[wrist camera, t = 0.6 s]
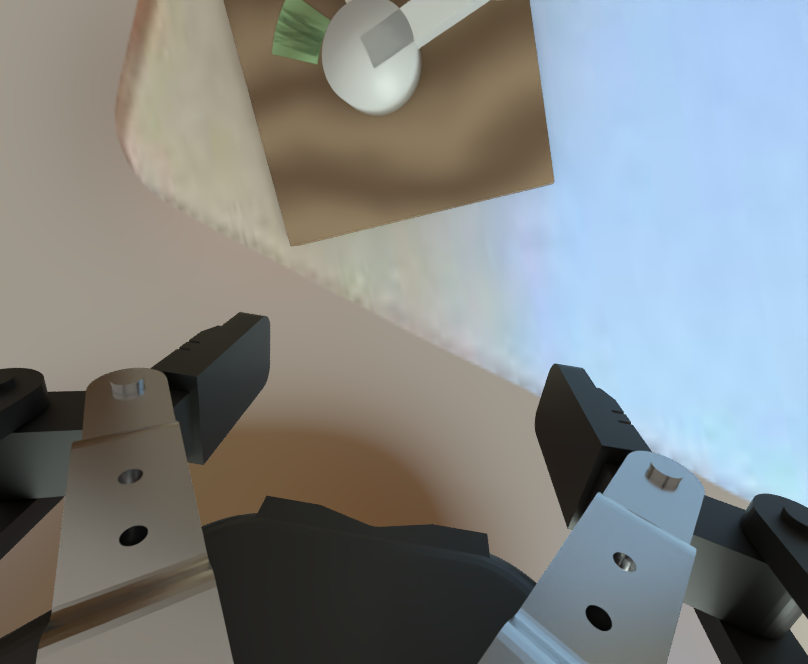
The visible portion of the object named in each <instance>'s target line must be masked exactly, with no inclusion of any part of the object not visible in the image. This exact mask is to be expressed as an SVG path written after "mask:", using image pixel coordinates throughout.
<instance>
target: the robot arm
mask: <svg viewBox="0 0 808 664" xmlns="http://www.w3.org/2000/svg"><path fill="white" fill-rule="evenodd" d="M269 369H270V321H269V319H268V317H267V316H261V315H255V314H249V313H243V312H239V313H238V314H237V315H235V316H234V317H233V318H231V319H230V320H229V321H227V322H226V323H225V324H223V325H222V326H216V327H213V328H210V329H207V330H204V331H201V332H200V333H199V334H197V335H196V336H194V337H193V338H192V339H190V340H189V342H186V343H185V344H183V345H182V346H181V347H180V348H179V349H177V350H175V351H174V352H172V353H171V354H170V355H168V356H167V357H165V358H164V359H163V360H161V361H160V362H159V363H157V364H156V365H154V366H153V367H152V368H150V369H149V368H129V369H122V370H118V371H114V372H110V373H108V374H105V375H103V376H100V377H99V378H97V379H95V380H94V381H92V382H91V383H90V384H89V386H88V387H87V389H86V391H64V392H63V391H62V392H47V388H46V384H45V380H44V376H43V375H42V373H40V372H38V371H36V370H33V369H26V368H7V369H0V560H1V558H3V557H4V556H5V554H7V553H8V552H9V551H10V550H11V549H12V548H13V547H14V546H15V545H16V544H17V543H18V542H19V541H20V540H21V539H22V538H23V537H24V536H25V535H26V534H27V533H28V532H29V531H30V530H31V529H32V528H33V527H34V526H35V525H36V524H37V523H38V522H39V521H40V520H41V519H42V518H43V517H44V516H45V515H46V514H47V513H48V512H49V511H50V510H52V509H53V507H55V506H56V505H57V504H58V503H59V502H60V501H61V500H62V499H63V497H64V496H65V503H64V512H63V520H62V528H61V537H60V545H59V554H58V562H57V571H56V579H55V588H54V597H53V606H52V610H50V611H48V612H47V613H45V614H43V615H41V616H39V617H38V618H36V619H34V620H33V621H31V622H29V623H27V624H25V625H23V626H22V627H20V628H18V629H16V630H15V631H13V632H11V633H9V634H7V635H6V636H4V637H2V638H0V664H666V663H667V660H668V656H669V652H670V649H671V645H672V641H673V637H674V634H675V630H676V626H677V622H678V618H679V615H680V611H681V608H682V604H683V603H685V604H688V605H690V606H692V607H694V609H695V612H696V614H697V616H698V618H699V620H700V622H701V624H702V626H703V628H704V630H705V632H706V634H707V636H708V638H709V640H710V642H711V644H712V646H713V648H714V650H715V652H716V654H717V656H718V658H719V660H720V662H721V664H808V655H807V654H806V652H805V651H804V649H803V648H802V647H801V645H800V644H799V642H798V641H797V640H796V638H795V636H794V635H793V633H792V632H791V630H790V628H791V627H792V625H793V624H794V623H795V622H796V621H797V619H798V618H799V617H800V616H801V615H802V613H804V615H805V616H806V617H807V619H808V508H807V507H805V506H803V505H801V504H799V503H797V502H795V501H792V500H790V499H787V498H784V497H781V496H777V495H773V494H758V495H756V496H755V497H754V498H753V500H752V501H751V503H750V505H749V506H748V508H747V509H746V510H744V509H741V508H738V507H735V506H732V505H730V504H727V503H724V502H722V501H718V500H716V499H713V498H711V497H708V496H706V495H704V494H705V491H704V487H703V485H702V483H701V482H700V481H699V479H698V478H697V477H696V476H695V475H694V474H693V473H692V472H690V471H689V470H688V469H687V468H685V467H684V466H682V465H681V464H679V463H678V462H676V461H674V460H672V459H670V458H668V457H665V456H663V455H660V454H657V453H653V452H652V451H651V450H650V448H649V447H648V446H647V444H646V443H645V441H644V440H643V439H642V437H641V436H640V434H639V433H638V431H637V430H636V429H635V427H634V426H633V425H631V422H630V420H629V419H628V417H627V416H626V415H625V414H624V412H623V410H622V409H621V407H620V406H619V405H618V403H617V402H616V400H615V399H613V398H612V397H611V396H609V395H608V394H607V393H606V392H604V391H603V390H602V389H600V388H596V386H595V385H594V383H593V382H592V380H591V379H590V377H589V376H588V374H587V373H586V371H585V370H584V369H583V368H579V367H573V366H567V365H561V364H554V365H553V366H552V367H551V369H550V371H549V374H548V377H547V380H546V383H545V386H544V389H543V392H542V396H541V399H540V402H539V405H538V408H537V412H536V417H535V432H536V436H537V439H538V442H539V445H540V447H541V450H542V453H543V456H544V459H545V462H546V465H547V468H548V471H549V474H550V477H551V480H552V483H553V486H554V489H555V492H556V495H557V498H558V501H559V504H560V507H561V510H562V513H563V516H564V519H565V522H566V525H567V528H568V529H572V532H571V533H570V535H569V536H568V538H567V539H566V541H565V542H564V544H563V545H562V547H561V548H560V550H559V551H558V553H557V554H556V556H555V557H554V559H553V560H552V562H551V563H550V565H549V566H548V568H547V569H546V571H545V572H544V574H543V575H542V577H541V578H540V580H539V581H538V583H536V582H534V581H533V580H532V579H531V578H530V577H528V576H527V575H526V574H524V573H523V572H522V571H520V570H519V569H517V568H516V567H514V566H513V565H511V564H510V563H508V562H506V561H504V560H502V559H500V558H499V557H497V556H494V555H492V554H490V553H489V545H488V538H487V534H485V533H480V532H474V531H468V530H462V529H456V528H451V527H445V526H439V525H433V524H430V525H409V526H389V527H374V526H370V525H367V524H365V523H362V522H360V521H358V520H355V519H353V518H350V517H348V516H345V515H343V514H341V513H338V512H336V511H334V510H331V509H329V508H326V507H324V506H321V505H317V504H312V503H306V502H300V501H294V500H288V499H283V498H277V497H271V496H266V498H265V500H264V502H263V504H262V506H261V508H260V510H259V512H258V513H252V514H245V515H237V516H233V517H229V518H225V519H221V520H218V521H215V522H212V523H209V524H207V525H205V526H202V527H201V523H200V518H199V514H198V509H197V504H196V500H195V495H194V491H193V486H192V481H191V476H190V472H189V467H188V462H189V463H195V464H201V465H204V463H206V461H207V460H208V459H209V457H210V456H211V455H212V453H213V452H214V451H215V450H216V448H217V447H218V446H219V444H220V443H221V442H222V441H223V439H224V438H225V437H226V435H227V434H228V433H229V431H230V430H231V429H232V428H233V426H234V425H235V424H236V422H237V421H238V420H239V419H240V417H241V416H242V415H243V413H244V412H245V411H246V410H247V408H248V407H249V406H250V404H251V403H252V402H253V400H254V399H255V398H256V397H257V395H258V394H259V393H260V391H261V390H262V389H263V387H264V386H265V384H266V381H267V379H268V375H269Z"/></svg>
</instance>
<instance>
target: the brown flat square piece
mask: <svg viewBox="0 0 808 664" xmlns="http://www.w3.org/2000/svg"><path fill="white" fill-rule="evenodd" d="M389 1H391V2H392V3H394V4H395V5H396V6H398V7H399V8H401V7H402V6H403V5H405V4H406V3H407V2H409V1H410V0H389ZM224 4H225V7H226V11H227V15H228V18H229V22H230V26H231V29H232V33H233V37H234V40H235V44H236V48H237V51H238V55H239V59H240V62H241V66H242V70H243V73H244V77H245V81H246V84H247V88H248V92H249V95H250V99H251V103H252V106H253V110H254V114H255V117H256V121H257V125H258V128H259V132H260V136H261V139H262V143H263V147H264V150H265V154H266V158H267V162H268V165H269V169H270V173H271V176H272V180H273V184H274V187H275V191H276V195H277V198H278V202H279V206H280V209H281V213H282V217H283V220H284V224H285V228H286V231H287V235H288V239H289V242H290V246H299V245H303V244H307V243H311V242H316V241H320V240H324V239H328V238H332V237H336V236H340V235H344V234H349V233H353V232H357V231H361V230H365V229H369V228H373V227H377V226H381V225H386V224H390V223H394V222H398V221H402V220H406V219H410V218H414V217H419V216H423V215H427V214H431V213H435V212H439V211H443V210H447V209H452V208H456V207H460V206H464V205H468V204H472V203H476V202H480V201H485V200H489V199H493V198H497V197H501V196H505V195H509V194H513V193H518V192H522V191H526V190H530V189H534V188H538V187H542V186H546V185H551V184H553V183H554V175H553V168H552V160H551V153H550V146H549V139H548V131H547V124H546V117H545V110H544V102H543V95H542V88H541V80H540V73H539V66H538V59H537V51H536V44H535V37H534V30H533V22H532V15H531V8H530V0H490V1H488V2H487V3H485V4H484V5H483V6H481V7H480V8H478V9H477V10H475V11H474V12H472V13H471V14H469V15H468V16H466V17H465V18H463V19H462V20H460V21H459V22H457V23H456V24H455V25H453V26H452V27H450V28H449V29H447V30H446V31H444V32H443V33H441V34H440V35H438V36H437V37H435V38H434V39H432V40H431V41H430V42H428V43H427V44H425V45H424V46H422V47H421V48H420V50H421V56H422V69H421V75H420V79H419V82H418V85H417V87H416V90H415V91H414V93H413V95H412V96H411V98H410V99H409V100H408V101H407V102H406V103H405V104H404V105H403V106H402V107H401V108H399V109H398V110H396V111H394V112H392V113H390V114H387V115H383V116H371V115H366V114H364V113H361V112H360V111H358V110H356V109H355V108H354V107H352V106H351V105H350V104H348V103H347V102H346V101H344V100H343V99H342V98H340V97H339V96H338V95H337V94H336V93H335V92H334V90H333V89H332V88H331V86H330V84H329V83H328V81H327V78H326V76H325V73H324V69H323V64H322V45H323V40H324V36H325V33H326V30H327V27H328V25H329V23H330V21H331V20H332V18H333V17H334V15H335V14H336V13H337V12H338V11H339V10H340V9H341V8H342V7H343V6H344V5H345V4H346V2H345V0H224Z"/></svg>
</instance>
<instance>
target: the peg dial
mask: <svg viewBox="0 0 808 664" xmlns="http://www.w3.org/2000/svg"><path fill="white" fill-rule="evenodd" d="M488 1H490V0H410V1H409V2H407V3H406V4H405V5H403V6H402V7H401V8H399V7H398V6H396V5H395V4H394V3H392V2H391V1H389V0H345V2H346V4H345V5H344V6H343V7H342V8H341V9H340V10H339V11H338V12H337V13H336V14H335V15H334V17H333V18H332V20H331V21H330V23H329V25H328V27H327V30H326V33H325V36H324V40H323V45H322V64H323V69H324V73H325V76H326V78H327V81H328V83H329V84H330V86H331V88H332V89H333V90H334V92H335V93H336V94H337V95H338V96H339V97H340V98H342V99H343V100H344V101H346V102H347V103H348V104H350V105H351V106H352V107H354V108H355V109H356V110H358V111H360V112H361V113H364V114H366V115H371V116H383V115H387V114H390V113H392V112H394V111H396V110H398V109H399V108H401V107H402V106H403V105H404V104H405V103H406V102H407V101H408V100H409V99H410V98H411V96H412V95H413V93H414V91H415V90H416V87H417V85H418V82H419V79H420V75H421V69H422V56H421V50H420V48H421V47H422V46H424V45H425V44H427V43H428V42H430V41H431V40H432V39H434V38H435V37H437V36H438V35H440V34H441V33H443V32H444V31H446V30H447V29H449V28H450V27H452V26H453V25H455V24H456V23H457V22H459V21H460V20H462V19H463V18H465V17H466V16H468V15H469V14H471V13H472V12H474V11H475V10H477V9H478V8H480V7H481V6H483V5H484V4H485V3H487V2H488Z"/></svg>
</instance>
